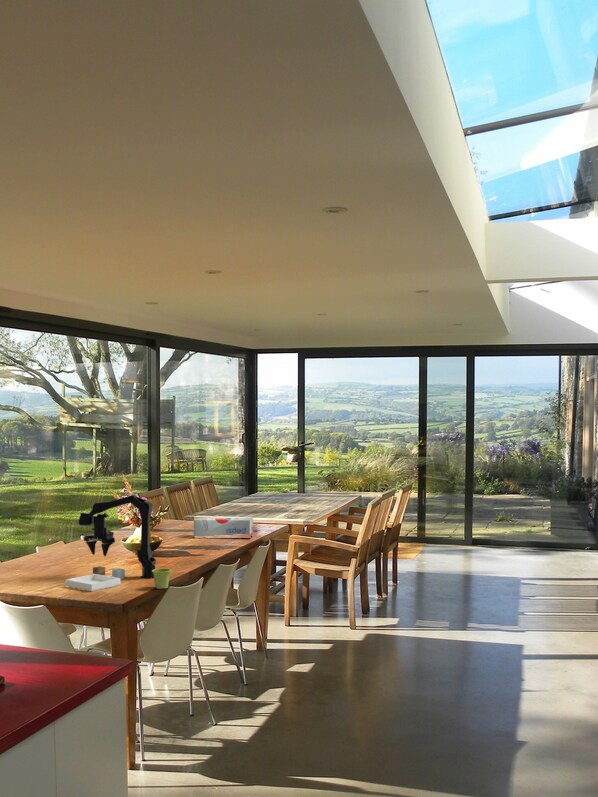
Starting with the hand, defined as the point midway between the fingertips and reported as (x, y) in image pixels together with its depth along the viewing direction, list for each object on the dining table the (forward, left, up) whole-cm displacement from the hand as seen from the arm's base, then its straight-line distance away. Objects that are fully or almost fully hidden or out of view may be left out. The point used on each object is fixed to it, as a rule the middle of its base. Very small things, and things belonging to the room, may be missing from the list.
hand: (99, 555), depth 413 cm
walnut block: (0, 0, -11) cm, 11 cm away
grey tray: (-16, +17, -11) cm, 26 cm away
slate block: (-13, -2, -11) cm, 17 cm away
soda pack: (+35, -139, -12) cm, 144 cm away
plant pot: (-47, 0, -11) cm, 48 cm away
